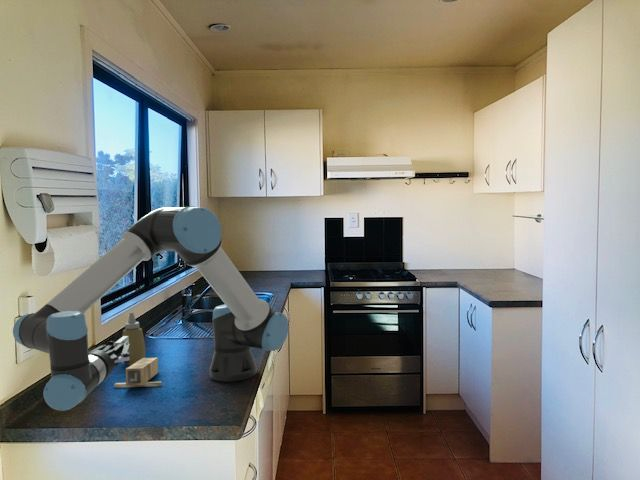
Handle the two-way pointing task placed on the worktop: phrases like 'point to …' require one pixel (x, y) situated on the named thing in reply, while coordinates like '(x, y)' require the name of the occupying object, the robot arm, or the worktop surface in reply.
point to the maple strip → (147, 384)
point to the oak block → (141, 371)
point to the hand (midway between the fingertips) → (126, 340)
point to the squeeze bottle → (134, 339)
